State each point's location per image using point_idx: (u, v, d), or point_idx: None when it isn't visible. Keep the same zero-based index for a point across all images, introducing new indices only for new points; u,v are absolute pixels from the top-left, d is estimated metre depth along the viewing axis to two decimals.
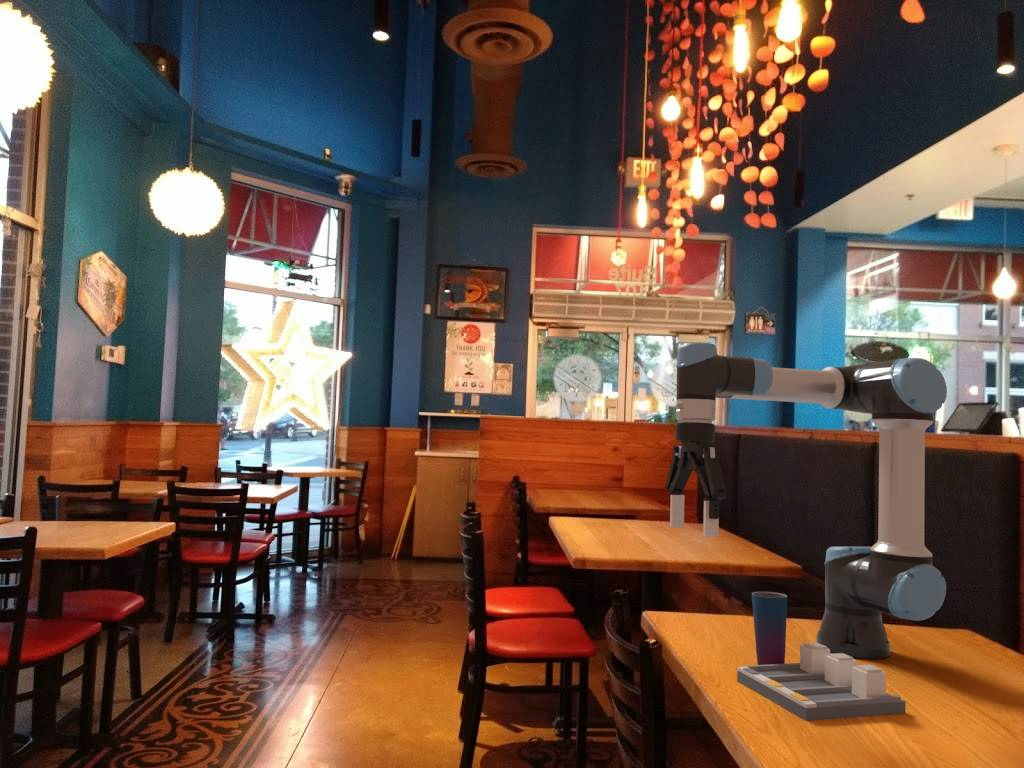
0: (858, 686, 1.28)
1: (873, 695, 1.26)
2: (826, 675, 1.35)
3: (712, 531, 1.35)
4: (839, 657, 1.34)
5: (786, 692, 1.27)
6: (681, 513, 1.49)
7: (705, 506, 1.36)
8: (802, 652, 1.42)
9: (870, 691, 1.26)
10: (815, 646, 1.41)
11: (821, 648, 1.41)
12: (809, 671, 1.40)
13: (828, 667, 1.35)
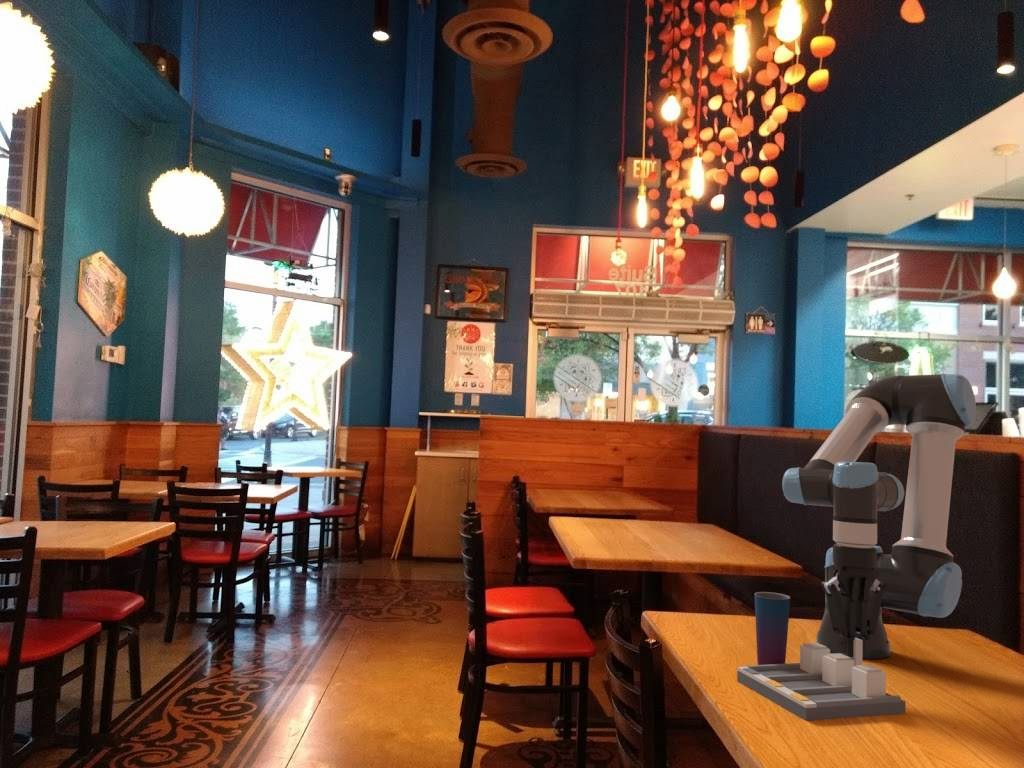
0: (858, 686, 1.28)
1: (873, 695, 1.26)
2: (824, 675, 1.35)
3: None
4: (837, 657, 1.34)
5: (786, 692, 1.27)
6: None
7: None
8: (802, 652, 1.42)
9: (870, 691, 1.26)
10: (815, 646, 1.41)
11: (821, 648, 1.41)
12: (809, 671, 1.40)
13: (826, 667, 1.35)
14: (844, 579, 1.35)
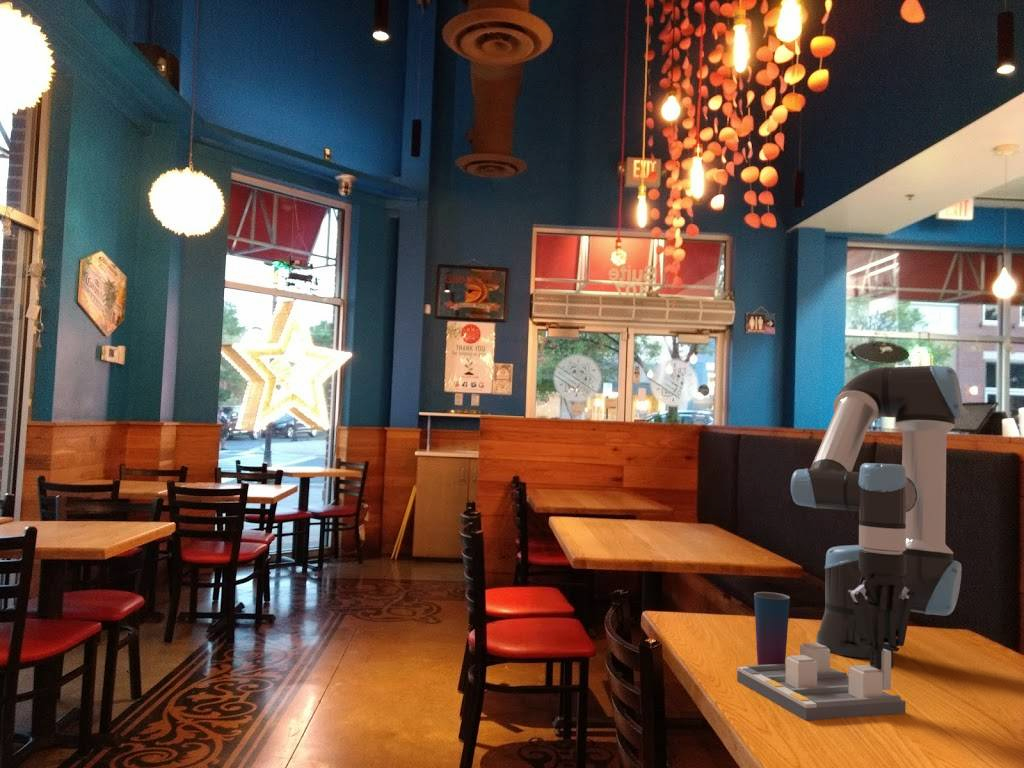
0: (855, 686, 1.28)
1: (870, 695, 1.26)
2: (787, 677, 1.33)
3: None
4: (800, 659, 1.32)
5: (786, 692, 1.27)
6: None
7: None
8: (802, 652, 1.42)
9: (866, 691, 1.26)
10: (815, 646, 1.41)
11: (821, 648, 1.41)
12: None
13: (789, 669, 1.33)
14: (872, 587, 1.28)
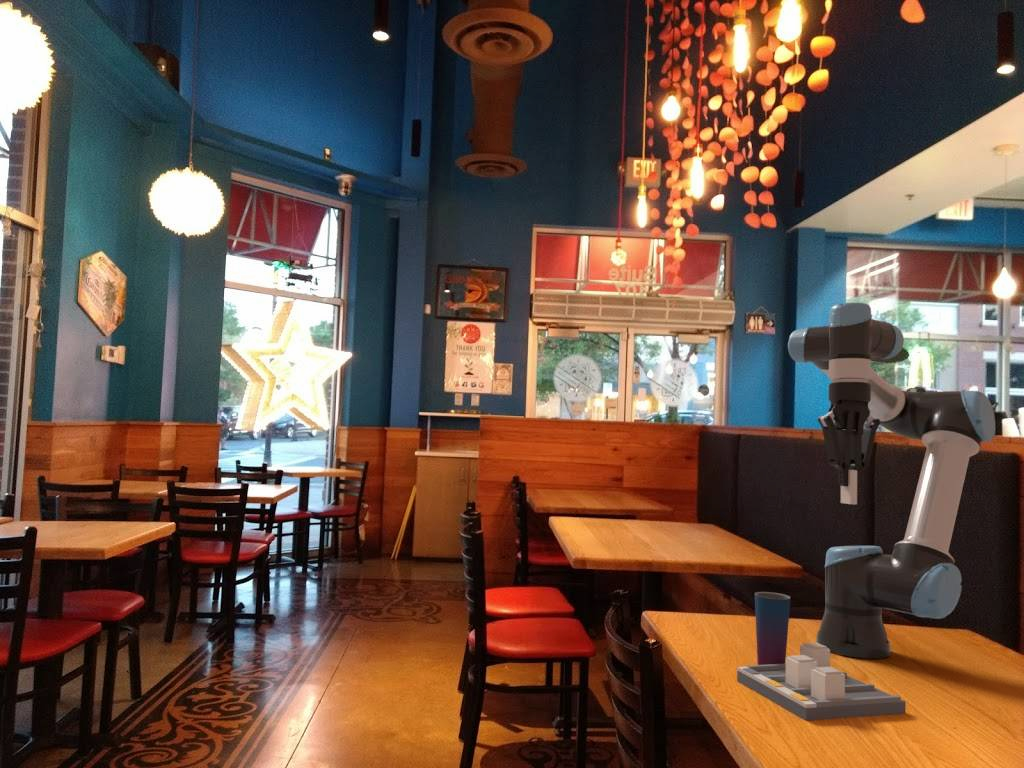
0: (817, 688, 1.25)
1: (831, 697, 1.24)
2: (787, 677, 1.33)
3: (845, 498, 1.42)
4: (800, 659, 1.32)
5: (786, 692, 1.27)
6: None
7: None
8: (802, 652, 1.42)
9: (828, 693, 1.24)
10: (815, 646, 1.41)
11: (821, 648, 1.41)
12: None
13: (789, 669, 1.33)
14: (839, 412, 1.42)
